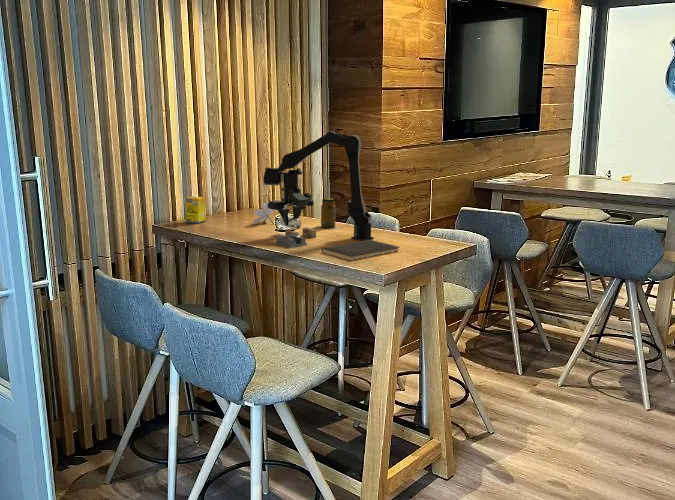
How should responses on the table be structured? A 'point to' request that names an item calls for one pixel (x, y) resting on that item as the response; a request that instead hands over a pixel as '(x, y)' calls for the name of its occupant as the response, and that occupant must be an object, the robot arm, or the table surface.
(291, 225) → the axle
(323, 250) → the hardcover book
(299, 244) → the v block
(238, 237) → the table surface
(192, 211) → the supplement box
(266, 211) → the water lily
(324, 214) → the condiment
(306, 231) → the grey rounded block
